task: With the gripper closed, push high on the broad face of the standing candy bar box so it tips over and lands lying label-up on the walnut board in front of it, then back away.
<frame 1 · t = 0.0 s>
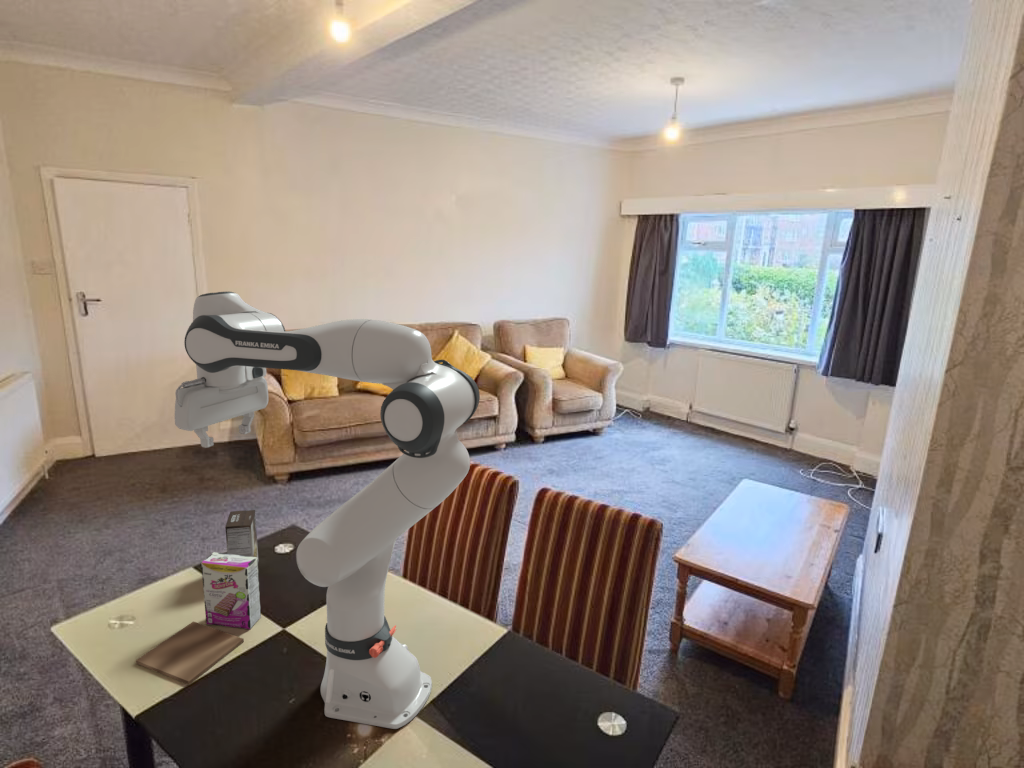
hand: (226, 439, 115), 48 cm above the table, fingers open, 8 cm apart
board: (191, 652, 122), on the table
coffee box: (244, 572, 153), on the table
candy bar box: (234, 622, 132), on the table
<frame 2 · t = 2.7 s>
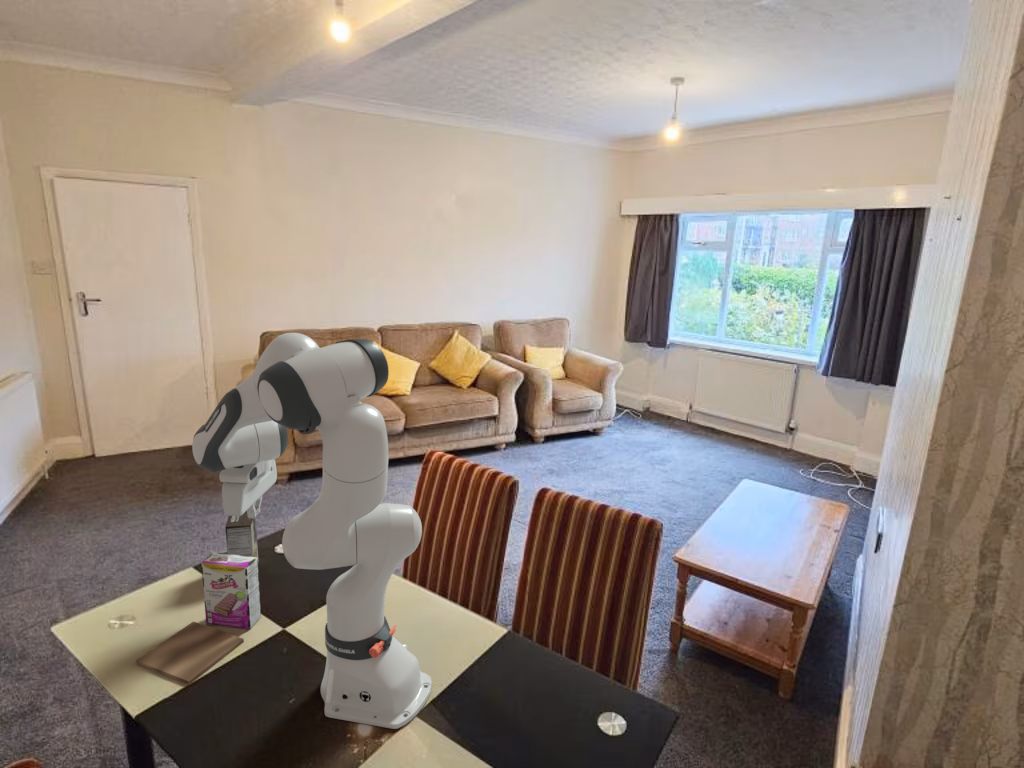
hand: (254, 515, 134), 24 cm above the table, fingers closed
nothing on the table moved.
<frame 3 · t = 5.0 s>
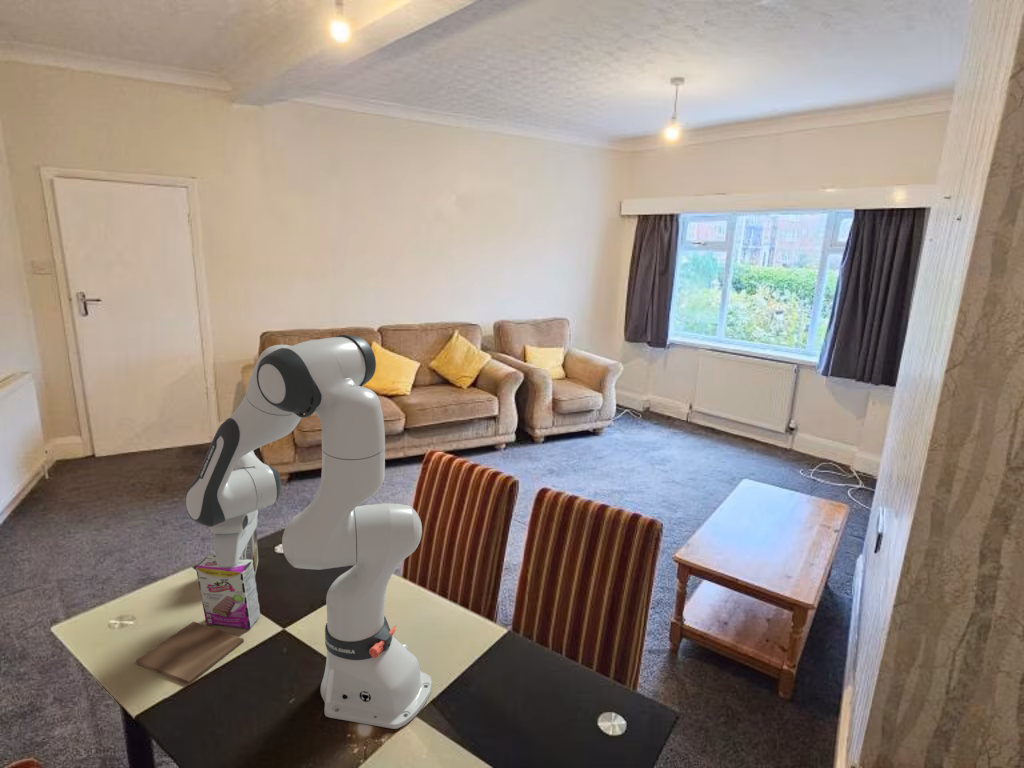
hand: (240, 563, 132), 14 cm above the table, fingers closed
candy bar box: (234, 621, 132), on the table, touching gripper
everything else where it was.
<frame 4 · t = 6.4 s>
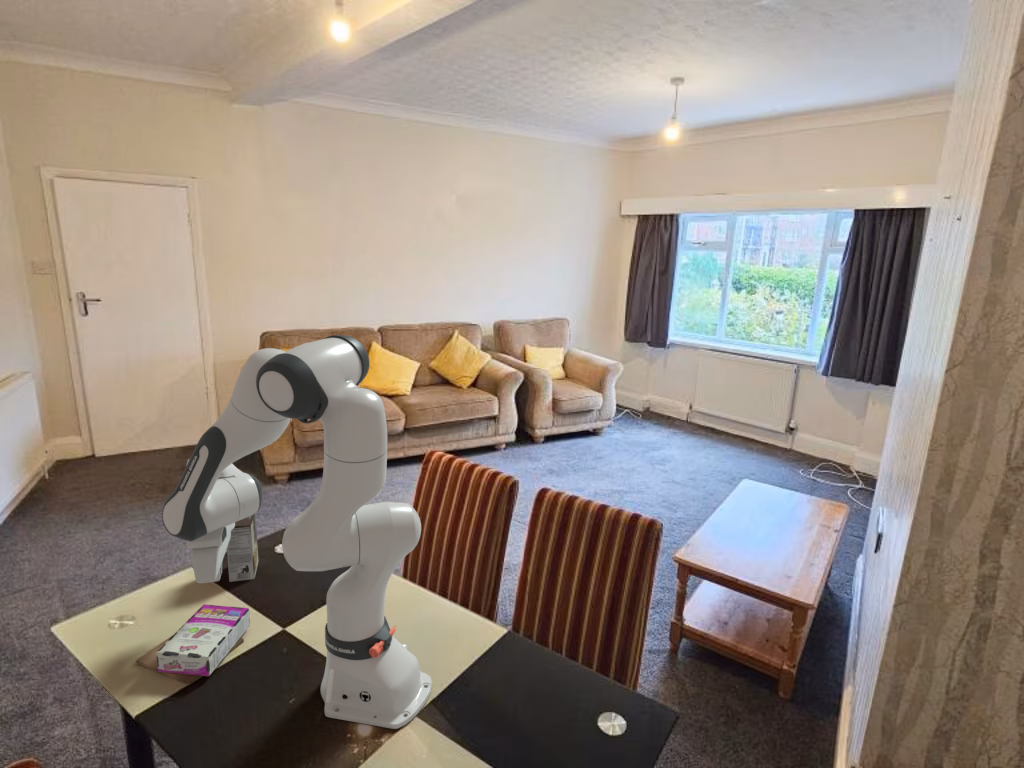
hand: (216, 578, 126), 14 cm above the table, fingers closed
candy bar box: (228, 614, 130), point 3 cm above the table, touching board
everything else where it was.
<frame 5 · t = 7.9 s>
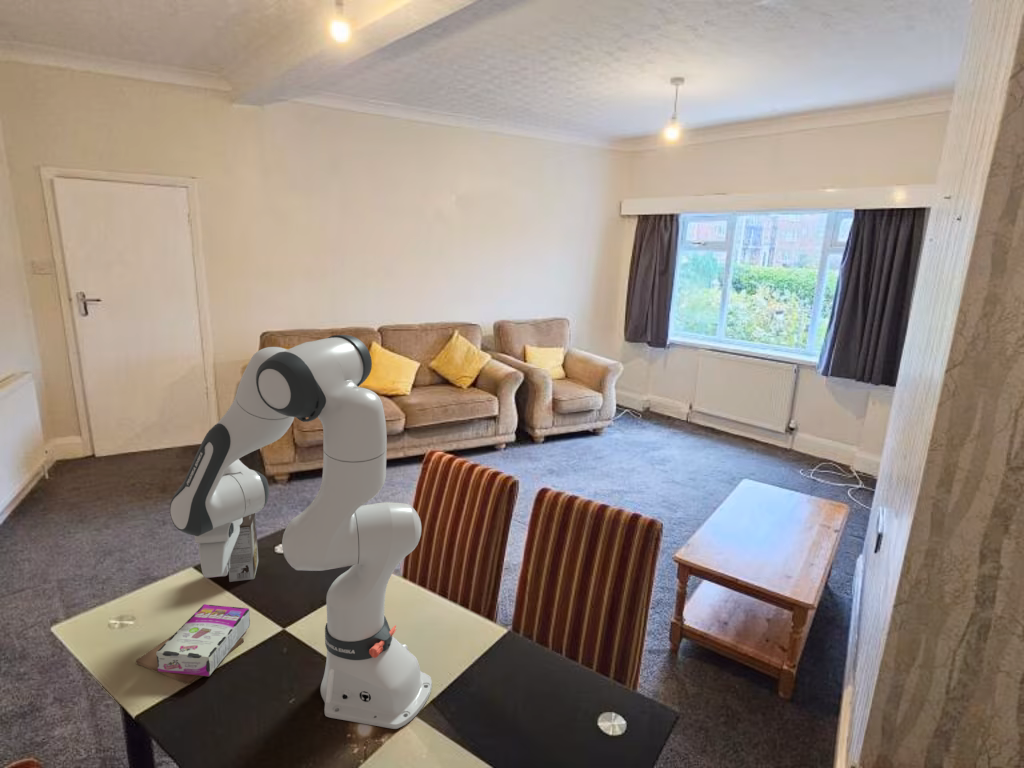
hand: (224, 572, 128), 14 cm above the table, fingers closed
nothing on the table moved.
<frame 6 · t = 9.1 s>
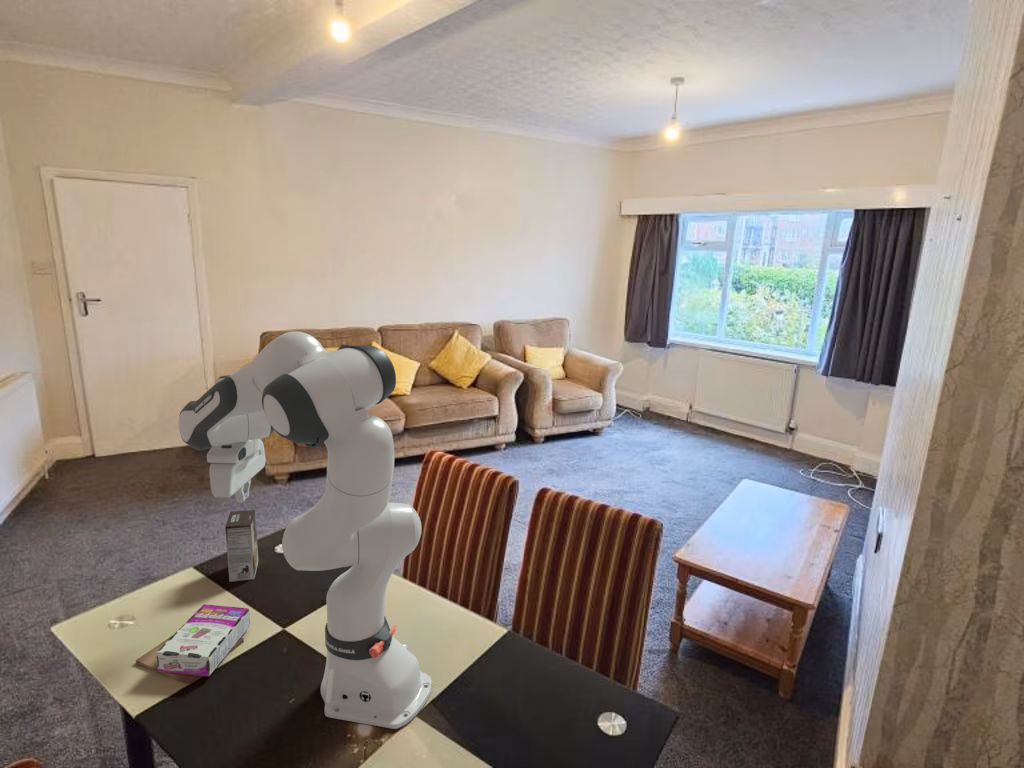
hand: (242, 499, 130), 29 cm above the table, fingers closed
nothing on the table moved.
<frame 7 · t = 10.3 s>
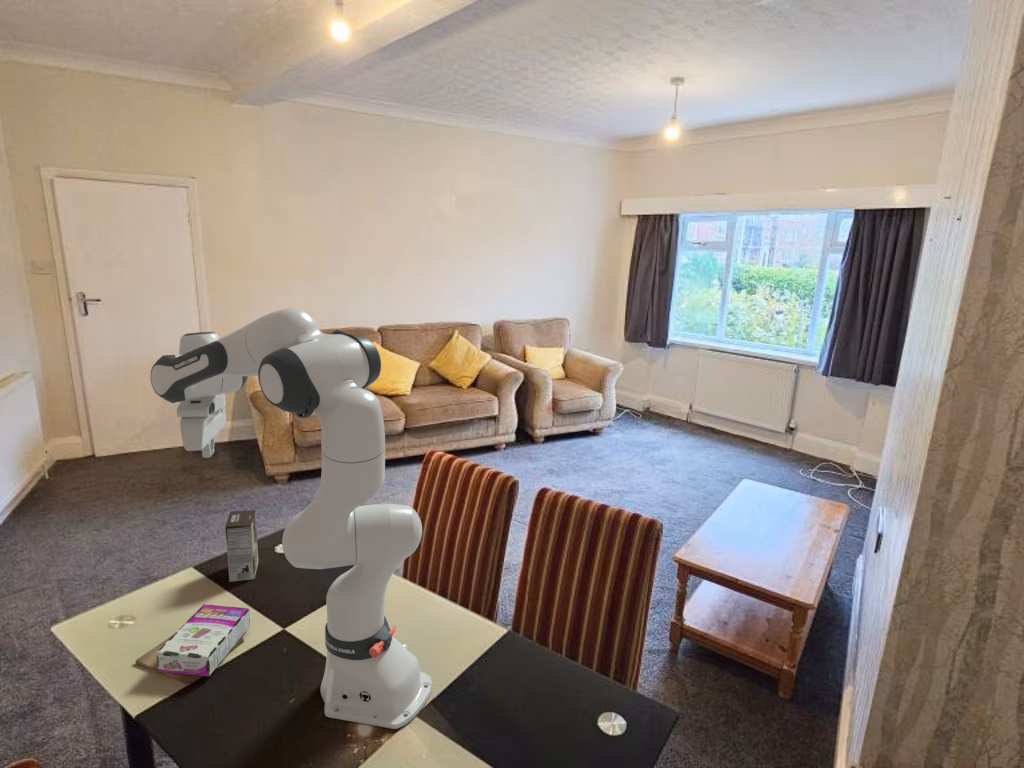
hand: (208, 455, 134), 37 cm above the table, fingers closed
nothing on the table moved.
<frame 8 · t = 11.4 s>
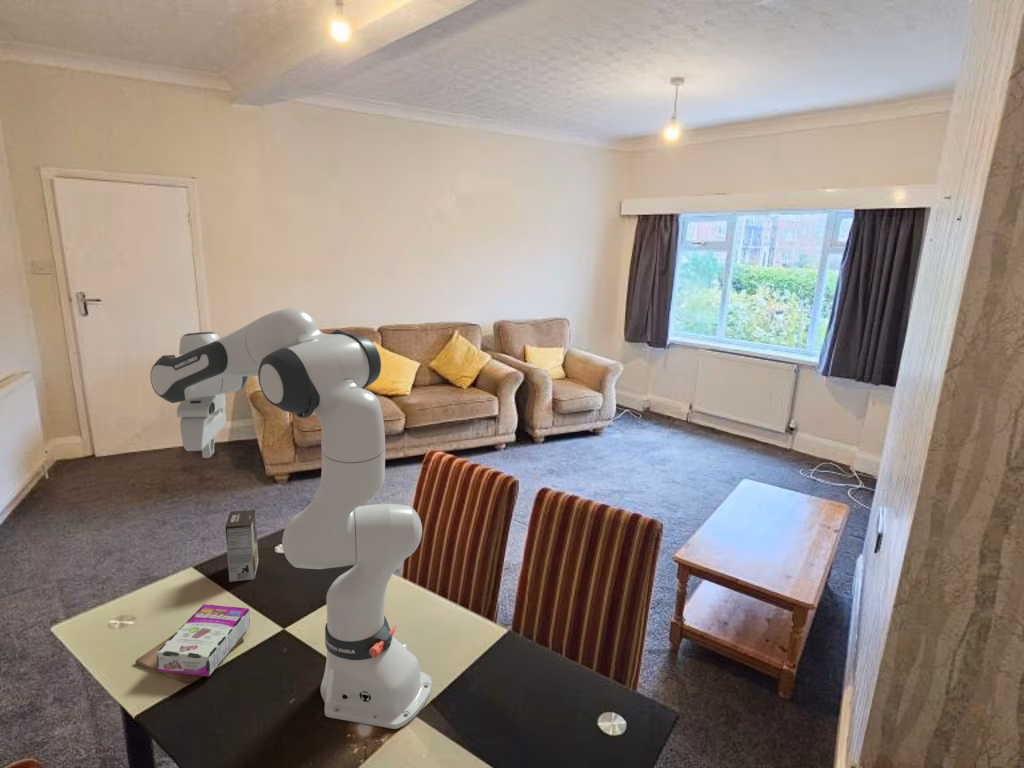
hand: (208, 455, 134), 37 cm above the table, fingers closed
nothing on the table moved.
at the end: candy bar box tilted 89°; candy bar box touching board; the gripper is holding nothing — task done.
